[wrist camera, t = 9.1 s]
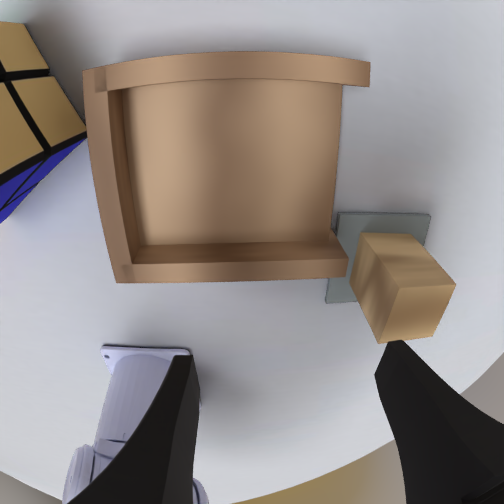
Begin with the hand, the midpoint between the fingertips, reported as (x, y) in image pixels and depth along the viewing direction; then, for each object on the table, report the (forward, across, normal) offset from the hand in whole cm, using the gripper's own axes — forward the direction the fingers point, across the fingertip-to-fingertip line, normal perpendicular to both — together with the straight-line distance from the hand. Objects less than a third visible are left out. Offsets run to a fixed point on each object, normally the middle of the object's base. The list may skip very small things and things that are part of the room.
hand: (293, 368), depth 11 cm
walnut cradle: (+10, +2, -5) cm, 12 cm away
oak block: (+10, -8, +2) cm, 13 cm away
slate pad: (+10, -8, +2) cm, 13 cm away
